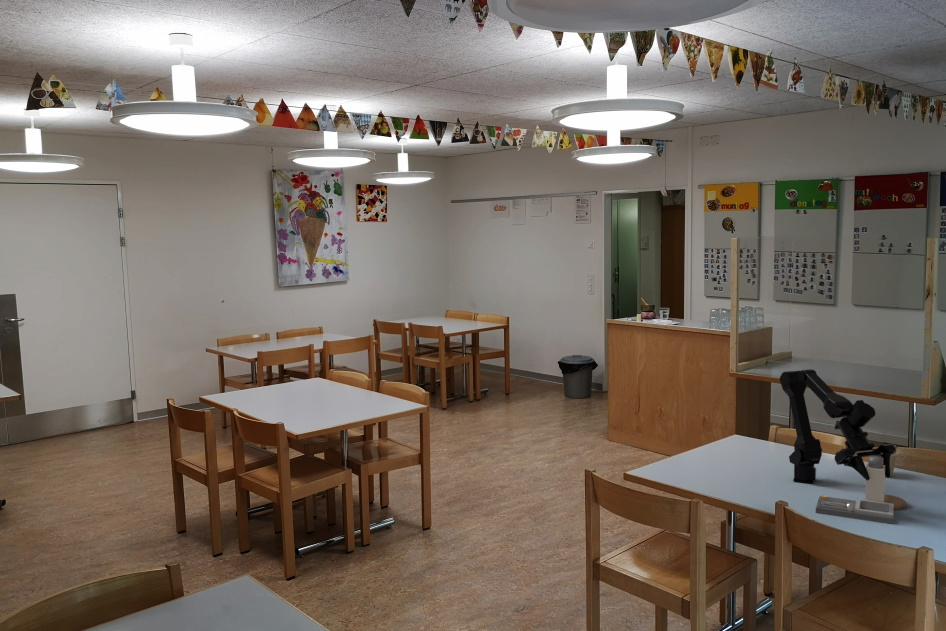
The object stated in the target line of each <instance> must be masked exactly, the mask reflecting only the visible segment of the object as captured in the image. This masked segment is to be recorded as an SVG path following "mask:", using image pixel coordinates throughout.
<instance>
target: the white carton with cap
mask: <svg viewBox="0 0 946 631" xmlns="http://www.w3.org/2000/svg"><path fill="white" fill-rule="evenodd" d="M865 467H866V469H867V472H868V474H869V478H870V479H869V480H866V479H865V493H864V494H865V499H864V500H874V501H881V502H884V494H885V485H886V484H885V483H886V482H885V481H886V477H885V465H883V457H881V456H876V455H871V456H868V462H867V463H866V465H865Z"/></svg>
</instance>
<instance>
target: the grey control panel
mask: <svg viewBox="0 0 946 631" xmlns="http://www.w3.org/2000/svg"><path fill="white" fill-rule="evenodd" d="M818 500H822V501H829V502H837V503H844V504H847V503H853V512H848V511H847V507H841V506H834V505H827V504H821V506H818V502H817V504H816V506H815V513H816V514H821V515H829V516H836V517H843V518H849V519H855V520H861V521H863V520H864V521H868V522H869V521H870V522H876V523H881V524H890V525H894V513H895V510H894V504H893V503H885V502H878V501H871V500H866V499H863V498H856V500H852V499H846V498H839V497H833V496H832V497H831V496H828V495H825V494H822V495H819V497H818ZM862 508H863V509H862ZM869 509H870V510H869Z"/></svg>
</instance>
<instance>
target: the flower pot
mask: <svg viewBox="0 0 946 631" xmlns="http://www.w3.org/2000/svg"><path fill="white" fill-rule="evenodd" d="M877 448H878V447H873V450H874V449H877ZM899 454H900V453H899V452H898V451H896V452H895V453H894V454H892V455H891V456H890V477H889V478H892V477H893V476H894V470H895V465H896V462H897V461H896V460H897V457H898V456H899ZM891 476H892V477H891ZM885 478H887V477H886V475H885Z"/></svg>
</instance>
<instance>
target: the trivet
mask: <svg viewBox="0 0 946 631" xmlns="http://www.w3.org/2000/svg"><path fill="white" fill-rule="evenodd" d="M871 501H874V500H871ZM878 502H881V501H878ZM884 502H885V503H893V504H894V511H897V510H898V511H899V510H904V509H905V508H906V507H907V501H906V500H905V499H903V497H899V496H895V495H892V494H885V493H884Z"/></svg>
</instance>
